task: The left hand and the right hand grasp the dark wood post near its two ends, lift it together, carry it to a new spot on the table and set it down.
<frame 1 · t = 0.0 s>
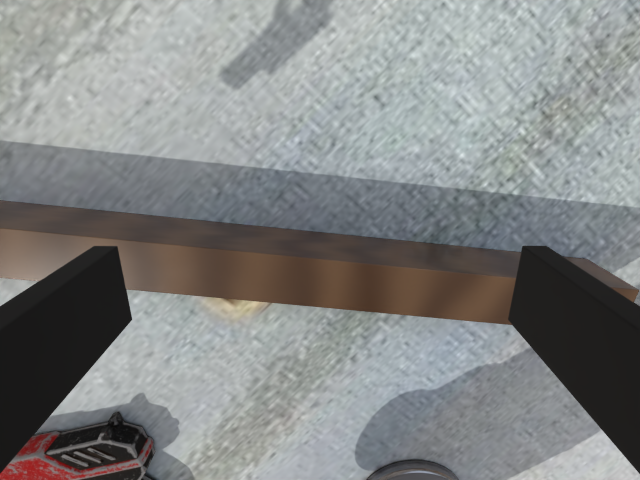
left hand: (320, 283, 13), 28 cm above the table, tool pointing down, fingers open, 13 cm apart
post: (231, 244, 42), on the table
gun: (64, 477, 54), on the table
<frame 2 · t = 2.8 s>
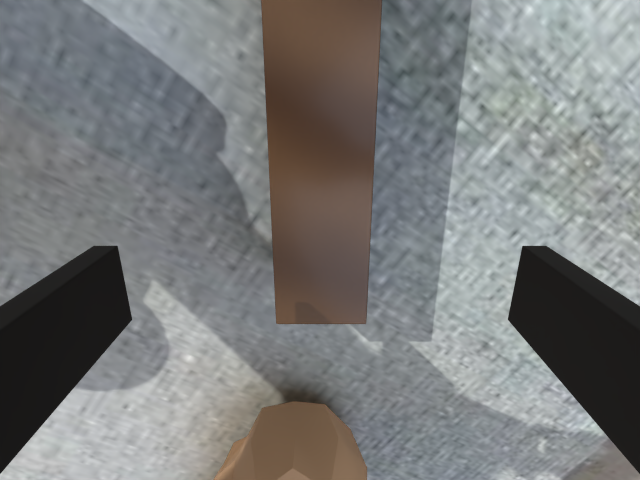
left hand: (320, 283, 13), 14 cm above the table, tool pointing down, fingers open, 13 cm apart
squash: (269, 459, 35), on the table
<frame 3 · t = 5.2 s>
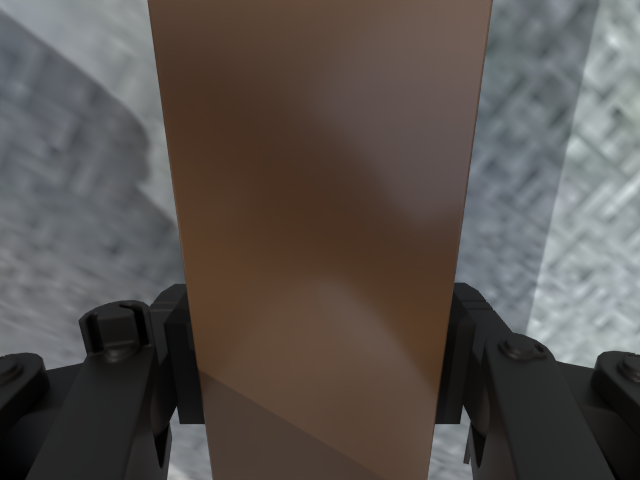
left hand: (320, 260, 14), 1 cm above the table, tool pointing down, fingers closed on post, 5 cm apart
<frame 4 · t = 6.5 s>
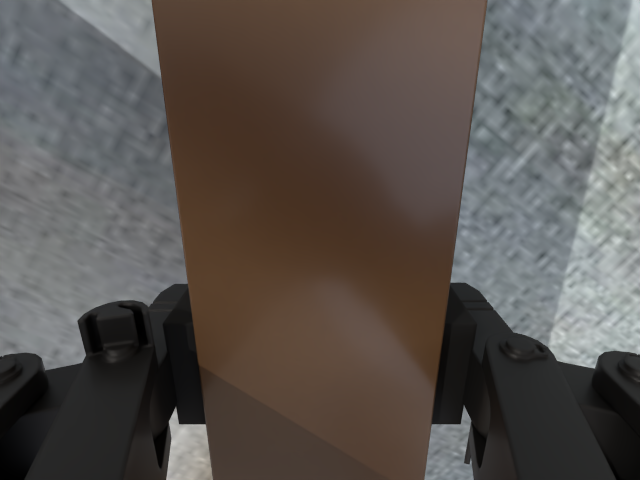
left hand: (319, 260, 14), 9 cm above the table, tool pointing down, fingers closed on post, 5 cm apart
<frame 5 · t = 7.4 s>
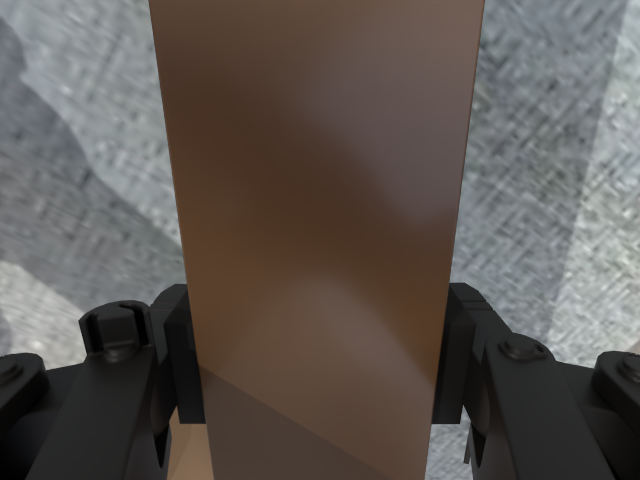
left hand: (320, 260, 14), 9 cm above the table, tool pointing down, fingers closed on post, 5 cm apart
squash: (148, 460, 30), on the table
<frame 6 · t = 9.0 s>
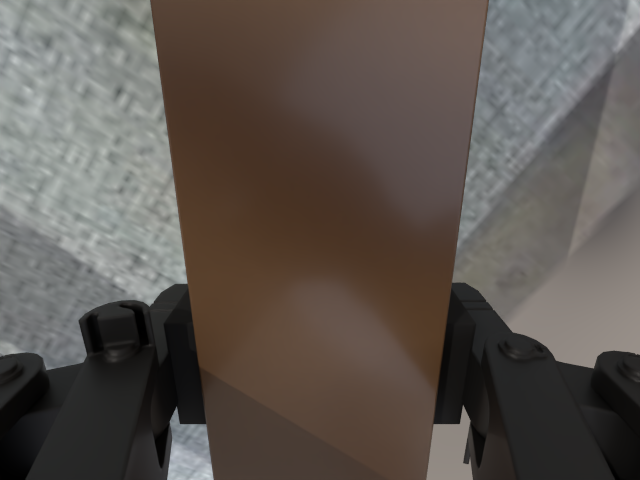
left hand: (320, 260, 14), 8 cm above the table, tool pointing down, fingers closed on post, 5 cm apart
when the left hand's fingers open (2 cm above the table, at t = 10.0 s): post drops 1 cm, on the table.
when the right hand's fingers open (4 cm above the table, at t = 10.2 s): post stays where it is, on the table.
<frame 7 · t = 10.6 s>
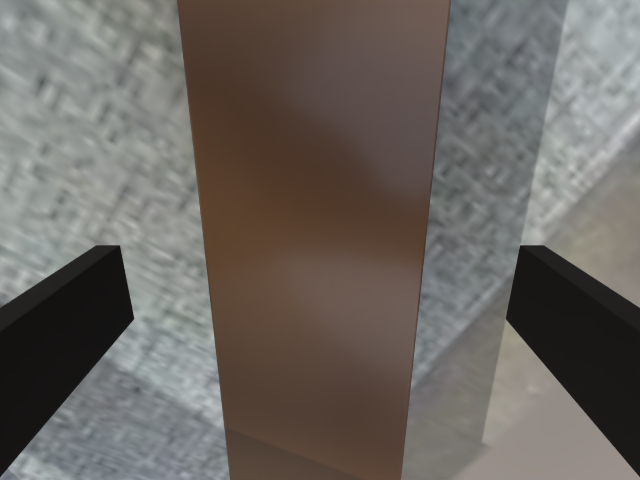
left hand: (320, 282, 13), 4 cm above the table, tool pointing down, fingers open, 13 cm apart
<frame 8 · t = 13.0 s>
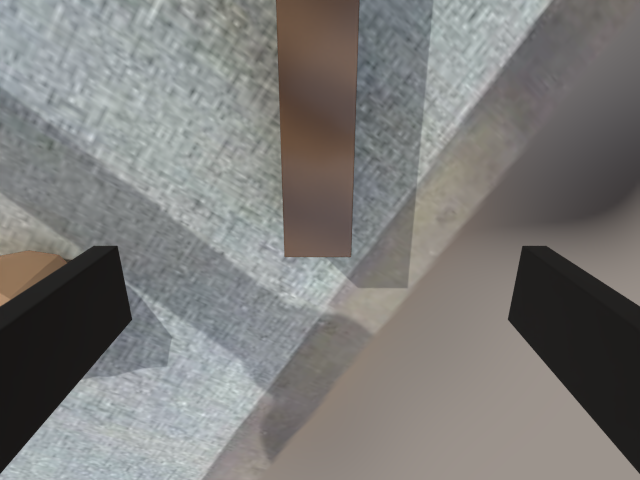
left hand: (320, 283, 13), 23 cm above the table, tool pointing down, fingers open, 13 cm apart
squash: (37, 319, 39), on the table
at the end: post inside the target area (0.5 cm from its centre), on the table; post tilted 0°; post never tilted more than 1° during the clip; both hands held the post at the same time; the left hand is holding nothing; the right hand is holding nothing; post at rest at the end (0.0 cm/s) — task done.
